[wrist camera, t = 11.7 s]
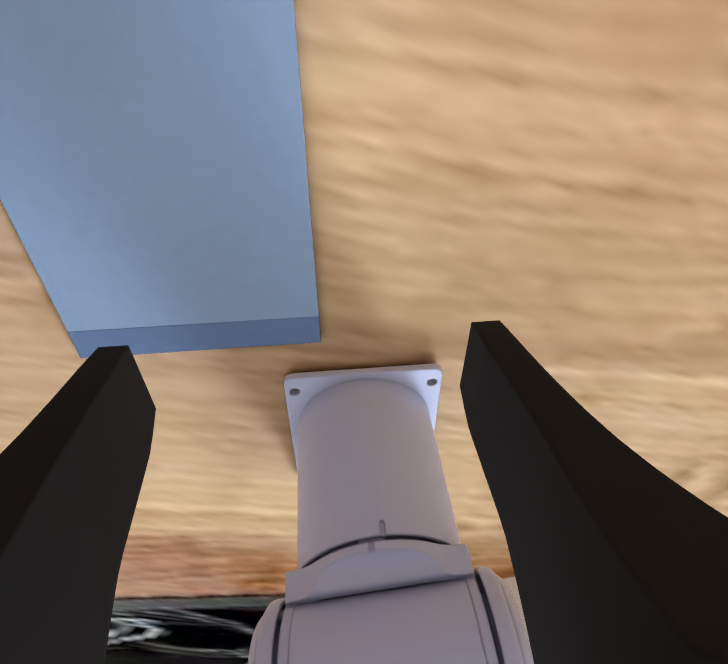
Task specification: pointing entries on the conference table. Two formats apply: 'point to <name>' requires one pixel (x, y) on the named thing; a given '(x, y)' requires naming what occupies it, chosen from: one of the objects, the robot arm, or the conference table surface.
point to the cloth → (160, 170)
